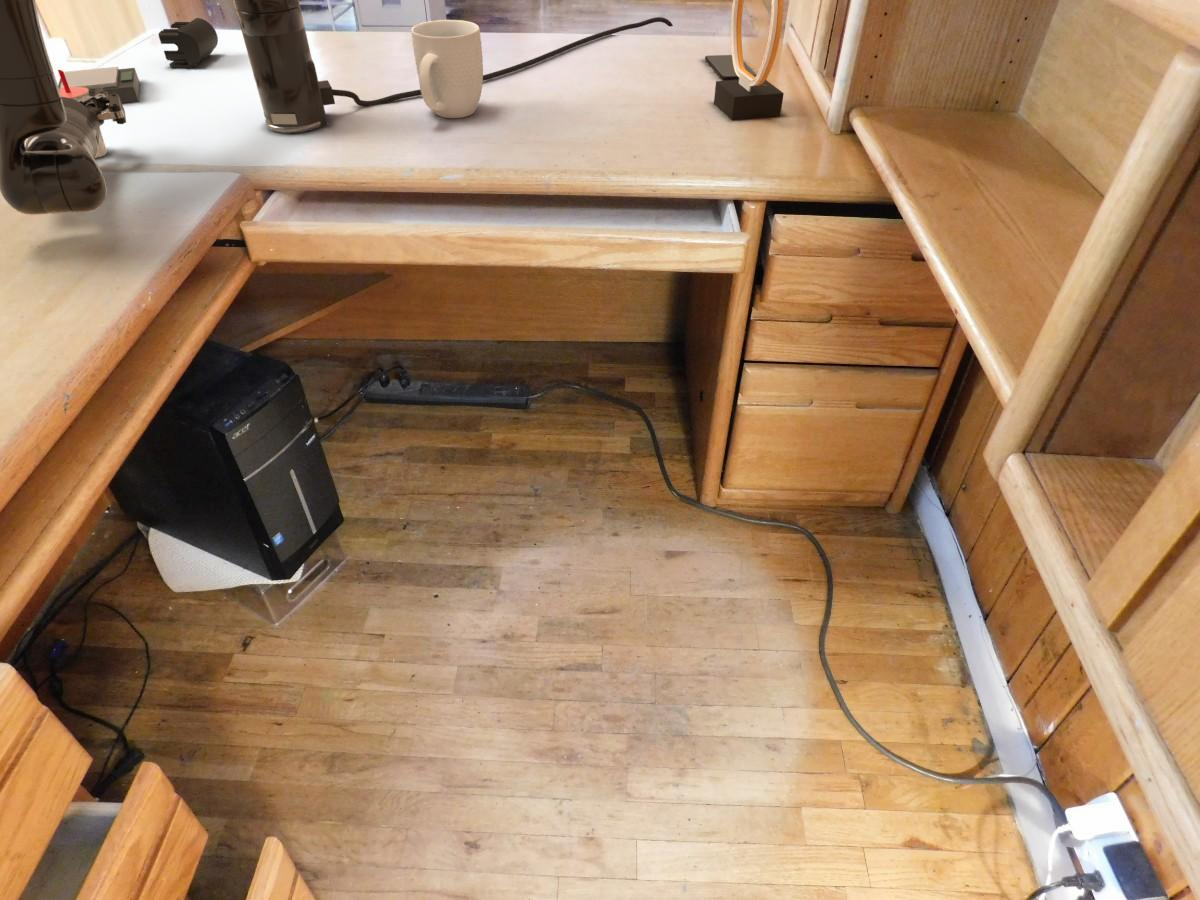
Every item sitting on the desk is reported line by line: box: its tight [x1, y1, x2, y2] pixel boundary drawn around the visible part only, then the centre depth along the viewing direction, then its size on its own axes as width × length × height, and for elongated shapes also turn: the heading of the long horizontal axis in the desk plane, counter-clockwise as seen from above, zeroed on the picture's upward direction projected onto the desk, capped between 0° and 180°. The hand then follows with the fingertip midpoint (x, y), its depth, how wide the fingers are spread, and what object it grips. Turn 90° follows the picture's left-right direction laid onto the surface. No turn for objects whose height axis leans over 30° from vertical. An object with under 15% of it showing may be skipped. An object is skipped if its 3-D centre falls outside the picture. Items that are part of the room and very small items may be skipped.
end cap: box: [158, 17, 219, 69], centre depth 151 cm, size 10×7×7 cm
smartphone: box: [704, 54, 757, 81], centre depth 151 cm, size 7×1×15 cm
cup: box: [57, 69, 108, 159], centre depth 113 cm, size 5×5×12 cm
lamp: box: [713, 0, 785, 121], centre depth 124 cm, size 17×9×32 cm, turn 14°
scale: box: [58, 66, 141, 104], centre depth 136 cm, size 12×12×3 cm
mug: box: [410, 19, 484, 119], centre depth 127 cm, size 15×11×13 cm
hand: (73, 98), depth 114 cm, fingers open, 7 cm apart
